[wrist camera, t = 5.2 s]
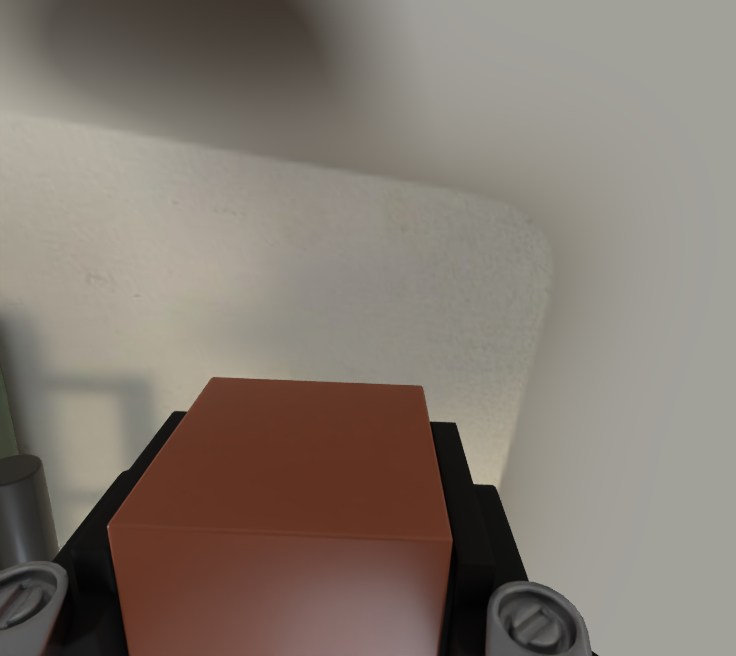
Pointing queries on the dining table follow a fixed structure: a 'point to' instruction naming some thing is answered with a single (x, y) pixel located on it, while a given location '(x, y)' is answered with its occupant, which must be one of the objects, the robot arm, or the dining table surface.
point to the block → (288, 526)
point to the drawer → (22, 500)
